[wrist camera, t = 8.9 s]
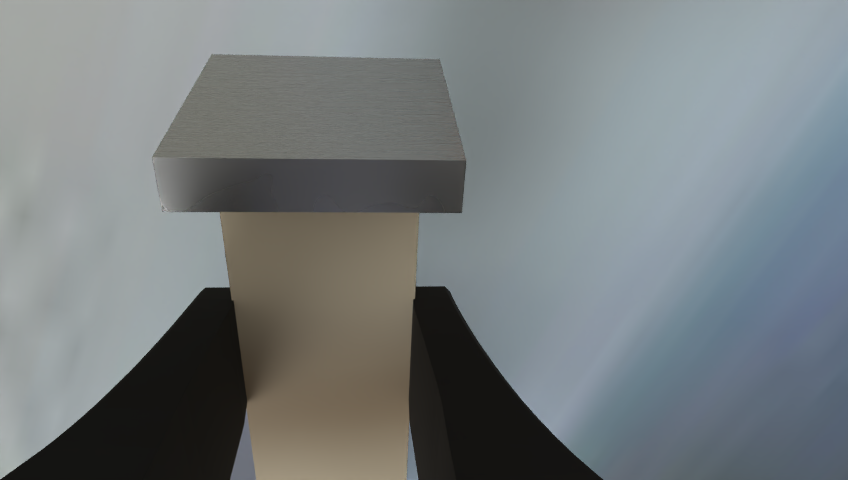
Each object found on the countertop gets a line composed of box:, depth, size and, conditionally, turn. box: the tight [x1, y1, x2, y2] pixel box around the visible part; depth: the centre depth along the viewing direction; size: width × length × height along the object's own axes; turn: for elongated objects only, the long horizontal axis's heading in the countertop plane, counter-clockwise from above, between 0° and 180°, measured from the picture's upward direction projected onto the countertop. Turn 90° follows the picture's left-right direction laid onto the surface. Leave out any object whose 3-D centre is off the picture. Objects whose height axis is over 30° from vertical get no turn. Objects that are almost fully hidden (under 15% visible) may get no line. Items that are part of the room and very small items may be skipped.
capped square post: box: [152, 54, 466, 480], centre depth 14 cm, size 11×4×4 cm, turn 177°
